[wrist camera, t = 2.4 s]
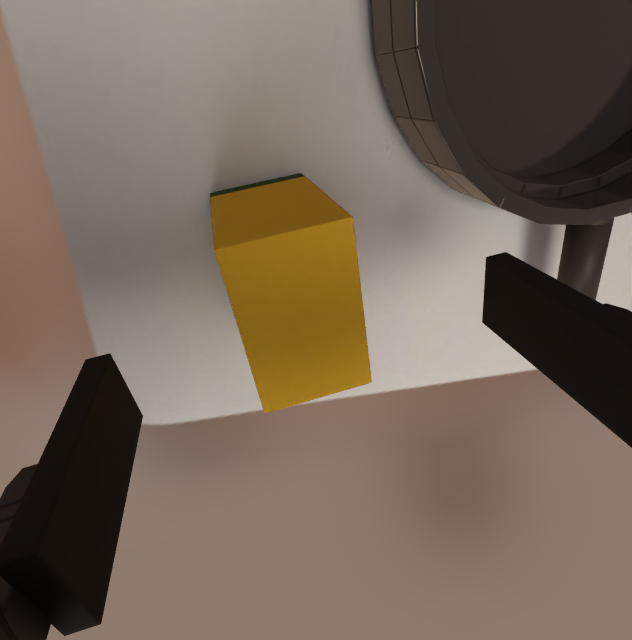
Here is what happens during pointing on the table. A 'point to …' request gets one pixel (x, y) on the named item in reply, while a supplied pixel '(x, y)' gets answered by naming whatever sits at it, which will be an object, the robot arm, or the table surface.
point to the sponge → (292, 288)
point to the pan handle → (584, 256)
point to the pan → (516, 100)
